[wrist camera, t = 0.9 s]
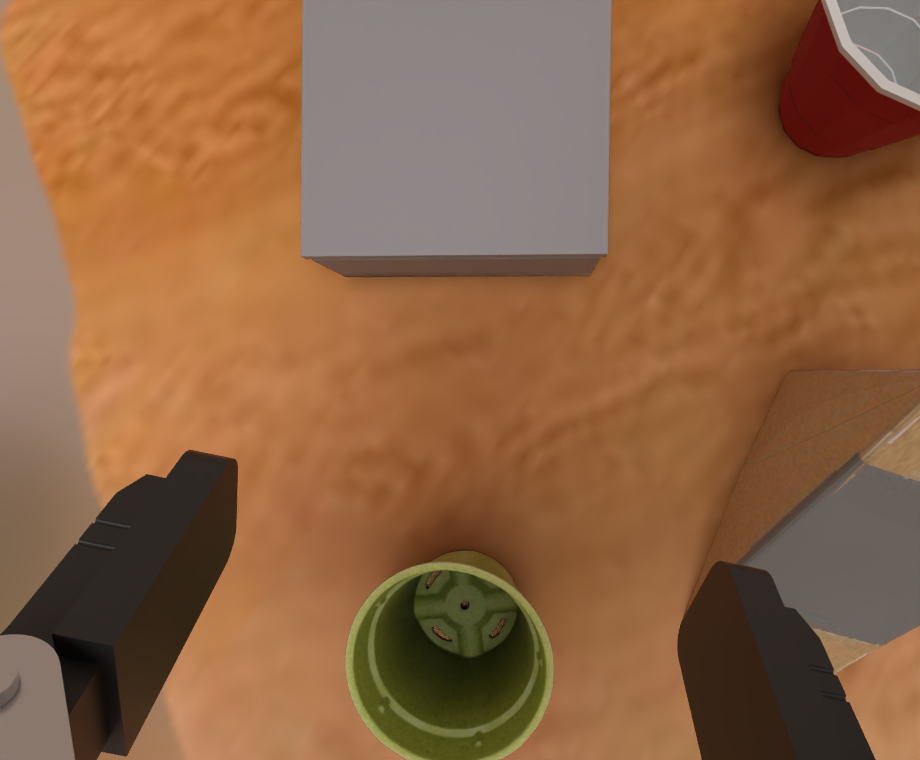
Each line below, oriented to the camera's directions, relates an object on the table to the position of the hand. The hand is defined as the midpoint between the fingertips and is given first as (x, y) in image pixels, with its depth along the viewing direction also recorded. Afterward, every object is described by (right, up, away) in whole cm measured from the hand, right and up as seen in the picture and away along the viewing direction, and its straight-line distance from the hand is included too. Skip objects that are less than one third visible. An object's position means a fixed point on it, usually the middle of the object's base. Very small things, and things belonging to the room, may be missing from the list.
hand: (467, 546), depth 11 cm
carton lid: (0, +18, +21) cm, 27 cm away
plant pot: (0, -10, +27) cm, 29 cm away
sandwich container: (+19, -5, +25) cm, 32 cm away
